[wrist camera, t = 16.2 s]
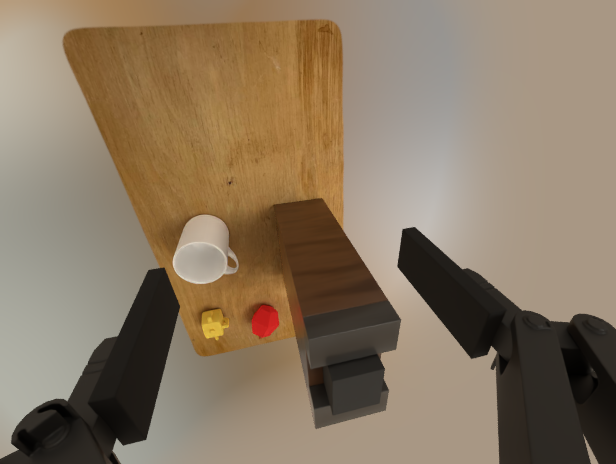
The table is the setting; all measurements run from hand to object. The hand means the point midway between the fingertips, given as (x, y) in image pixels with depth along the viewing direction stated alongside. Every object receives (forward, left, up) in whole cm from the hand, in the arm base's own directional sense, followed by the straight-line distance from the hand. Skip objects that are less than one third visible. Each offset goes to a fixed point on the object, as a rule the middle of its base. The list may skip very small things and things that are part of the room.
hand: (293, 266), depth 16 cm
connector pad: (+14, +19, -9) cm, 25 cm away
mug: (+22, +3, -39) cm, 45 cm away
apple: (+36, +23, -39) cm, 58 cm away
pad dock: (+14, +19, -39) cm, 45 cm away
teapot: (+41, +13, -39) cm, 58 cm away
